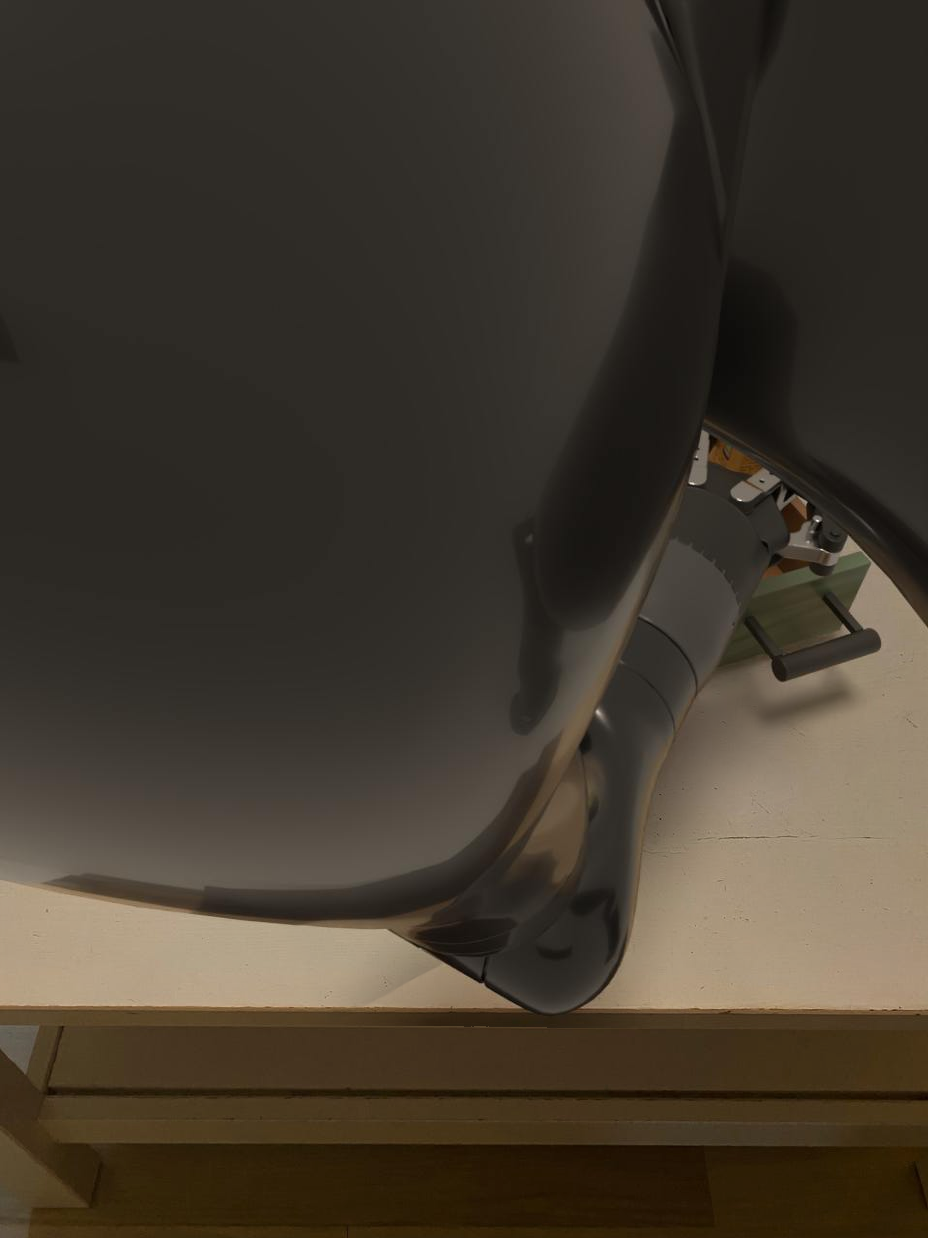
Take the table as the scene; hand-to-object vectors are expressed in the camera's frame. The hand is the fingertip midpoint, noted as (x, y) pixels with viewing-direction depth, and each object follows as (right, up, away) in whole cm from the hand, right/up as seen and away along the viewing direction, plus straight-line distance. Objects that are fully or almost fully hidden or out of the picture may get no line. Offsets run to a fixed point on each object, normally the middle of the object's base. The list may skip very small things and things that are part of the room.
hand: (767, 416), depth 55 cm
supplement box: (-1, -6, +3) cm, 7 cm away
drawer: (+2, -11, +13) cm, 17 cm away
